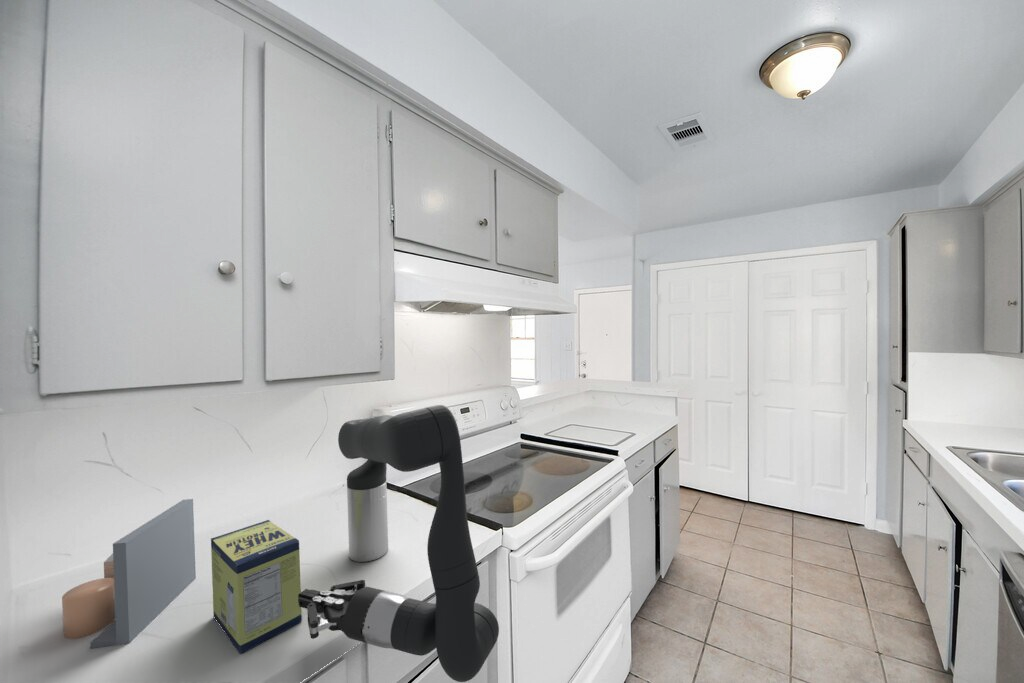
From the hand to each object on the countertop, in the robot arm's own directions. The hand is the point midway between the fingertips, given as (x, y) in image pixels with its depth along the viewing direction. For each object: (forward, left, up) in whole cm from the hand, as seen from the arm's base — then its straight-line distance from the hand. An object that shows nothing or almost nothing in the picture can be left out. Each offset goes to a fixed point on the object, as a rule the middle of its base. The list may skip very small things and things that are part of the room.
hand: (301, 597), depth 74 cm
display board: (-14, -33, -7) cm, 36 cm away
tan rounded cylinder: (-11, -41, -7) cm, 43 cm away
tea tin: (-20, -41, -7) cm, 46 cm away
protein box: (-6, -10, -7) cm, 13 cm away
